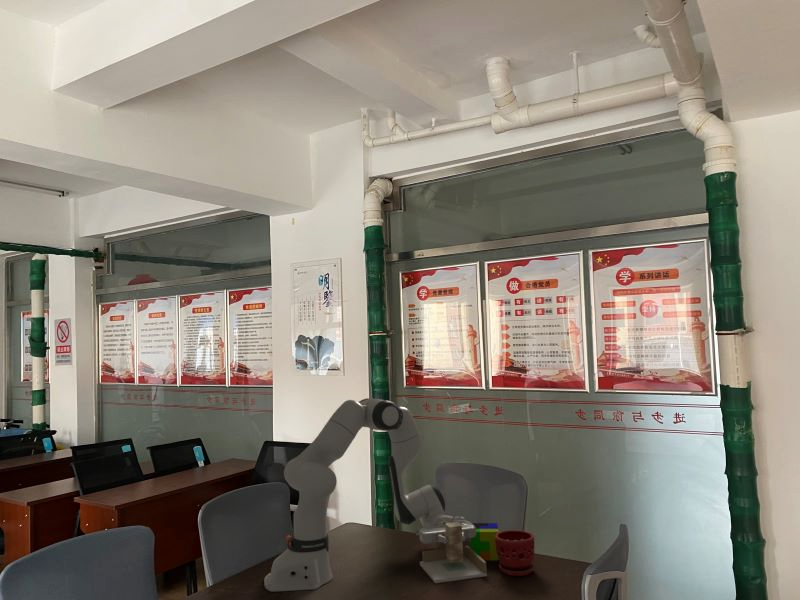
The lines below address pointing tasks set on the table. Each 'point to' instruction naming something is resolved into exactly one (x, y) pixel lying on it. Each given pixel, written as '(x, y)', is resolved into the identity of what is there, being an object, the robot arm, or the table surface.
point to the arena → (452, 565)
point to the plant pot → (515, 552)
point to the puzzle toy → (485, 540)
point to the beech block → (454, 542)
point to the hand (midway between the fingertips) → (454, 540)
